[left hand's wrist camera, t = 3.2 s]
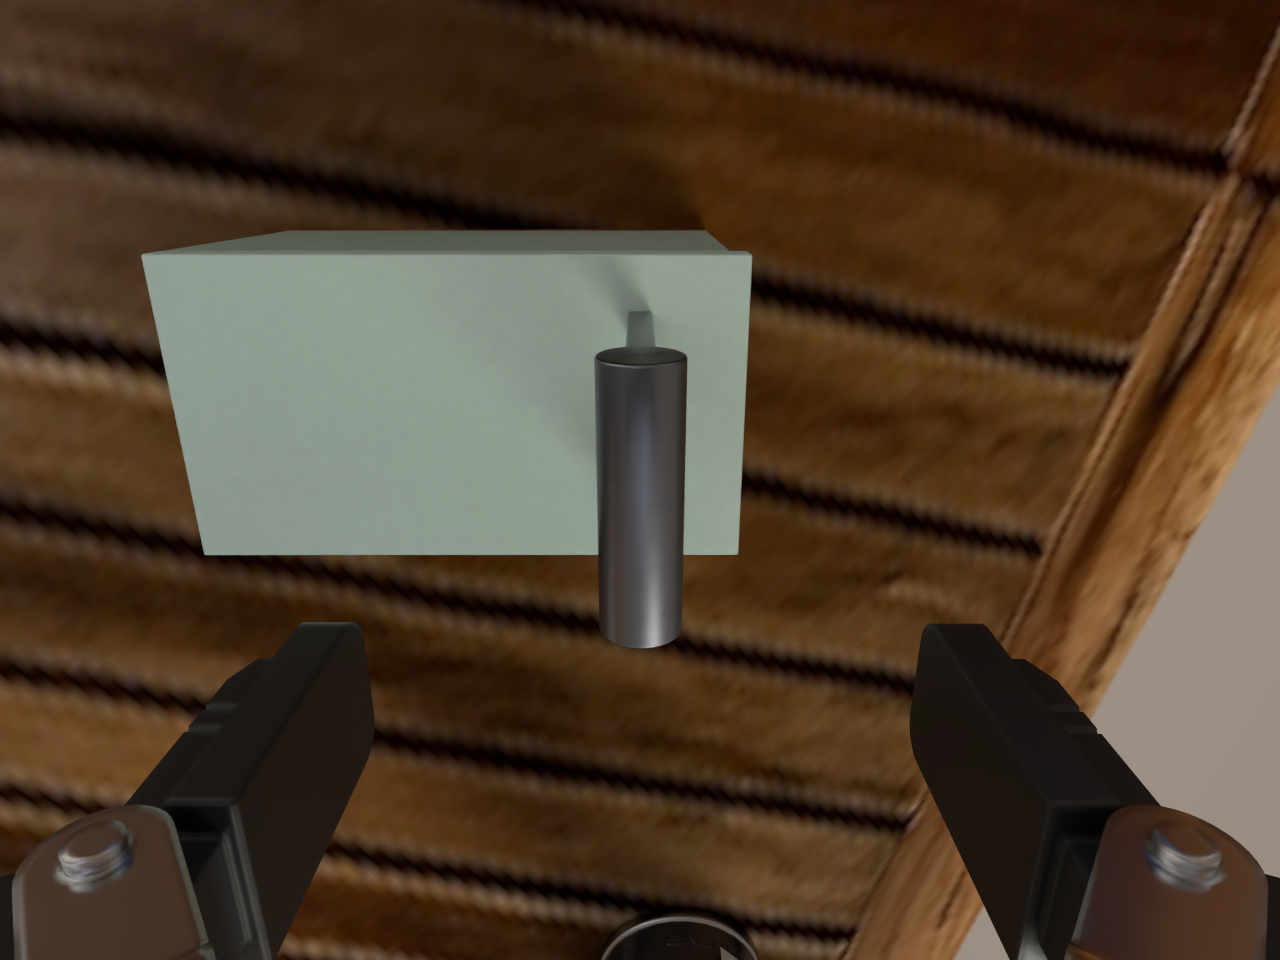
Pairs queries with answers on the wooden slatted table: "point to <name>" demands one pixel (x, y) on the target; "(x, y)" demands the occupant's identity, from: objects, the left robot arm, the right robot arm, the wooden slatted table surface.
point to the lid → (465, 407)
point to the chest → (472, 240)
